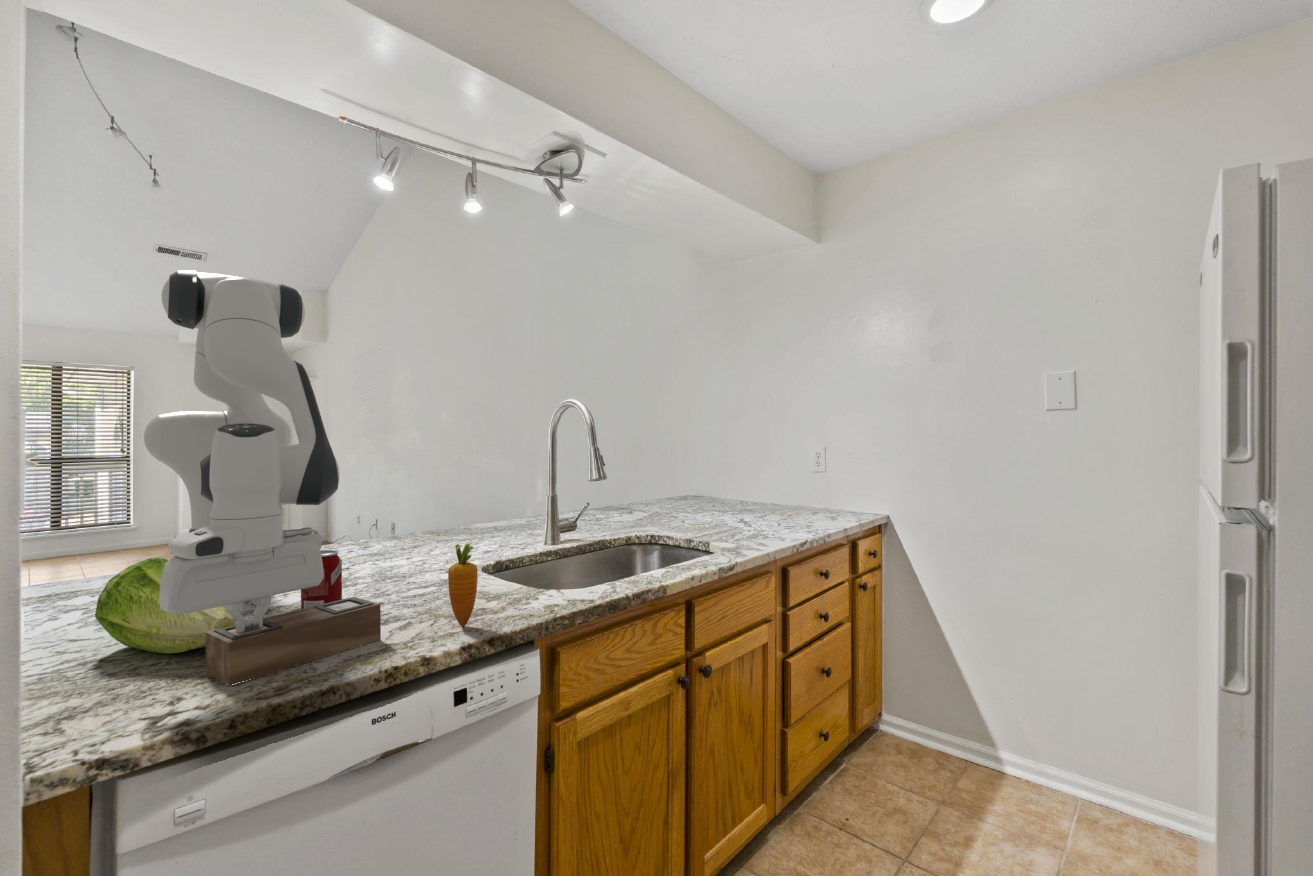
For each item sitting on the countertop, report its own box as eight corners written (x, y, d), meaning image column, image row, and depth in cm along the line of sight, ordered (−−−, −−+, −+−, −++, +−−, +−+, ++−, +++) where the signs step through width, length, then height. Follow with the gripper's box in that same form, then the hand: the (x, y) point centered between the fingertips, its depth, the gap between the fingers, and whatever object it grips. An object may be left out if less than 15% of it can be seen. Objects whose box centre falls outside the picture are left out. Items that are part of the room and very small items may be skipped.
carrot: (448, 624, 109) (447, 541, 109) (476, 621, 111) (476, 539, 111) (448, 632, 104) (448, 546, 104) (478, 629, 106) (478, 544, 106)
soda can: (324, 623, 110) (323, 557, 109) (292, 620, 111) (291, 555, 111) (350, 612, 116) (349, 549, 116) (319, 610, 118) (319, 548, 117)
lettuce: (277, 652, 99) (169, 697, 85) (194, 619, 109) (88, 655, 96) (271, 566, 97) (161, 599, 83) (188, 542, 108) (79, 567, 94)
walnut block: (206, 673, 87) (205, 630, 87) (354, 630, 106) (354, 595, 105) (229, 686, 83) (229, 641, 83) (380, 639, 101) (380, 602, 101)
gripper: (310, 523, 98) (311, 608, 99) (153, 543, 81) (155, 646, 82) (331, 527, 95) (332, 615, 95) (171, 549, 78) (172, 655, 78)
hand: (249, 629), depth 88 cm, fingers closed, pressing on maple peg
